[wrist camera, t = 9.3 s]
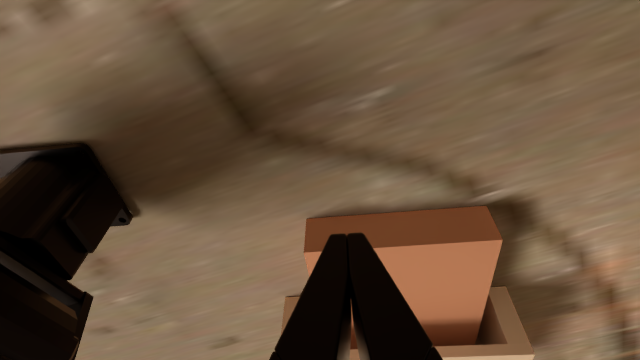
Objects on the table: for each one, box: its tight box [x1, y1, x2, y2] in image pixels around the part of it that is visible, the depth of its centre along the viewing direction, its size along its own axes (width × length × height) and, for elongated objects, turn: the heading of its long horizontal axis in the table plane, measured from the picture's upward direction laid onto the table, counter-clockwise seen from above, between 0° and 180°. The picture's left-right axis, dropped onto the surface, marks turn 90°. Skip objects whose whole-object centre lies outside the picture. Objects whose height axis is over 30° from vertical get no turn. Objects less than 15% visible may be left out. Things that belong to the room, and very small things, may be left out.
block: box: [304, 206, 503, 349], centre depth 29 cm, size 12×18×4 cm, turn 7°
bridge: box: [281, 286, 535, 360], centre depth 32 cm, size 18×11×6 cm, turn 97°
